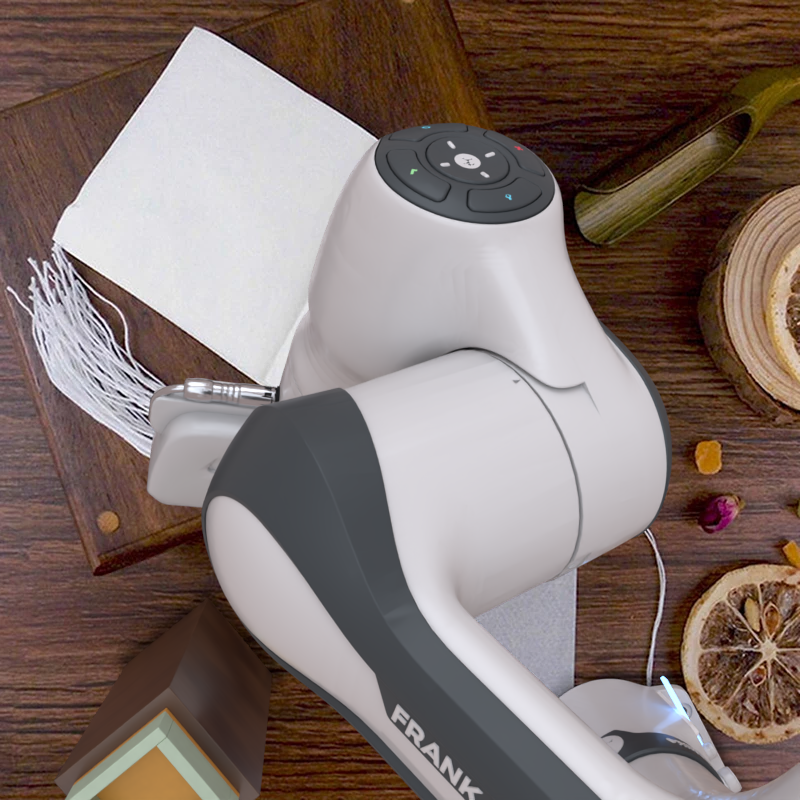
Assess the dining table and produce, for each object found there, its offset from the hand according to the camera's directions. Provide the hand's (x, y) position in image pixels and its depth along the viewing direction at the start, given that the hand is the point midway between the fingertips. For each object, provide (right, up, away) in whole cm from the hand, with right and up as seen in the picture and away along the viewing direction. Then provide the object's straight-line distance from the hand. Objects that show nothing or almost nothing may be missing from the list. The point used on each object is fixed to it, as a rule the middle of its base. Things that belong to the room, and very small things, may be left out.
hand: (312, 531), depth 60 cm
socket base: (-10, -16, +2) cm, 19 cm away
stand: (-12, -16, +27) cm, 34 cm away
